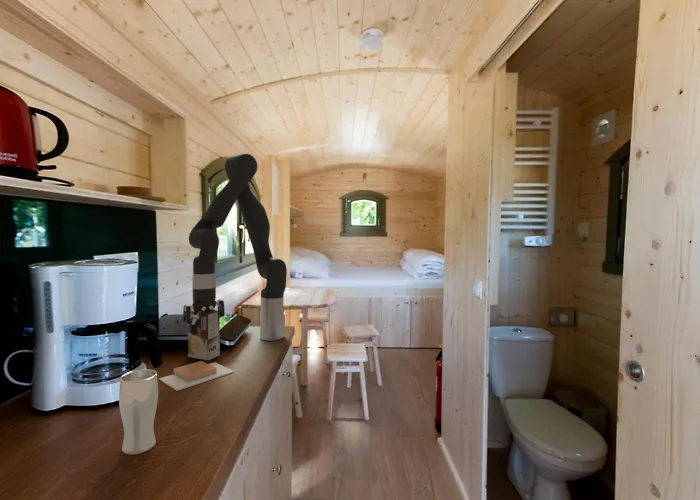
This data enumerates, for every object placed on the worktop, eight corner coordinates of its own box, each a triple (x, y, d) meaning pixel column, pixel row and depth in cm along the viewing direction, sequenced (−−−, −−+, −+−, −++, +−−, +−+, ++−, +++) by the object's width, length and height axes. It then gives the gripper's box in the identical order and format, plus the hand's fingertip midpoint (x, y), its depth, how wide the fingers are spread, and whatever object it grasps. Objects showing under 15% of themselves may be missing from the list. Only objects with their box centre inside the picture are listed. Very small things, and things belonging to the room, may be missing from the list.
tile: (201, 360, 118) (216, 368, 113) (201, 365, 119) (216, 372, 113) (173, 368, 111) (188, 376, 106) (173, 373, 112) (188, 381, 106)
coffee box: (220, 355, 130) (221, 310, 129) (208, 361, 124) (208, 314, 123) (199, 351, 133) (200, 307, 132) (186, 357, 127) (186, 311, 126)
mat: (215, 363, 122) (215, 362, 122) (234, 372, 115) (234, 371, 115) (159, 379, 108) (159, 378, 108) (177, 391, 101) (177, 389, 101)
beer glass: (149, 432, 81) (149, 366, 80) (164, 445, 76) (163, 375, 75) (114, 446, 75) (113, 375, 74) (127, 460, 71) (126, 385, 70)
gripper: (216, 282, 134) (217, 325, 136) (178, 287, 123) (179, 334, 124) (228, 285, 130) (228, 329, 131) (189, 290, 119) (190, 339, 120)
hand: (204, 332), depth 128 cm, fingers open, 8 cm apart
